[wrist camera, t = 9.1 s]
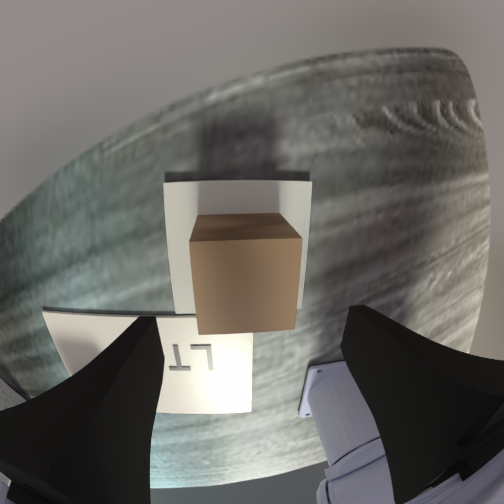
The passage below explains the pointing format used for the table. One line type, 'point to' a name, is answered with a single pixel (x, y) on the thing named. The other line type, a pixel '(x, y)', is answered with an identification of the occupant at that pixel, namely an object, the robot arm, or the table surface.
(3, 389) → the skincare box
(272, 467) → the table surface
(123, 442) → the robot arm
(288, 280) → the walnut block
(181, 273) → the white square plate
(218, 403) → the mat
